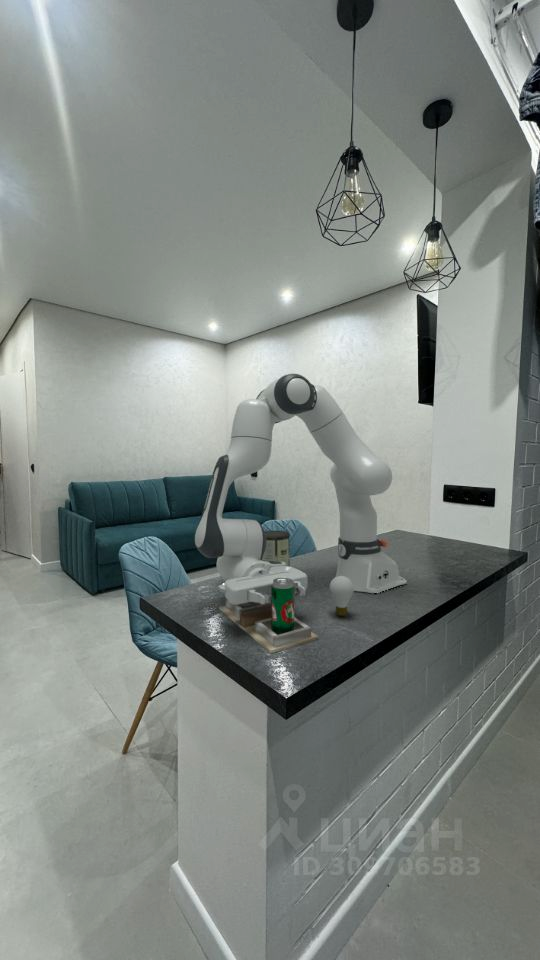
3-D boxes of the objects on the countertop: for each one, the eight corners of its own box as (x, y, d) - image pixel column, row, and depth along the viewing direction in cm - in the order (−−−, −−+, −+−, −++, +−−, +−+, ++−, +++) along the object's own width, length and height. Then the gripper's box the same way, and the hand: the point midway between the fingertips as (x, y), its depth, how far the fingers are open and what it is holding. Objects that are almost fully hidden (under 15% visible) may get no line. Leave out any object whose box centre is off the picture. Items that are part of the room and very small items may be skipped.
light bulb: (331, 610, 101) (331, 571, 100) (354, 612, 99) (355, 574, 99) (327, 619, 95) (328, 579, 95) (352, 622, 94) (352, 581, 93)
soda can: (271, 628, 89) (271, 576, 88) (293, 628, 89) (293, 576, 88) (271, 639, 84) (271, 584, 83) (294, 639, 84) (295, 584, 83)
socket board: (219, 609, 101) (219, 597, 101) (259, 600, 107) (259, 589, 107) (270, 653, 79) (270, 638, 79) (318, 639, 85) (318, 625, 85)
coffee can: (266, 569, 136) (266, 529, 135) (294, 573, 132) (294, 531, 131) (253, 578, 127) (252, 535, 126) (282, 582, 123) (282, 538, 122)
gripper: (215, 572, 91) (241, 590, 80) (288, 560, 102) (321, 574, 90) (215, 599, 92) (241, 620, 80) (288, 584, 102) (321, 601, 90)
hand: (284, 596), depth 85 cm, fingers open, 8 cm apart
